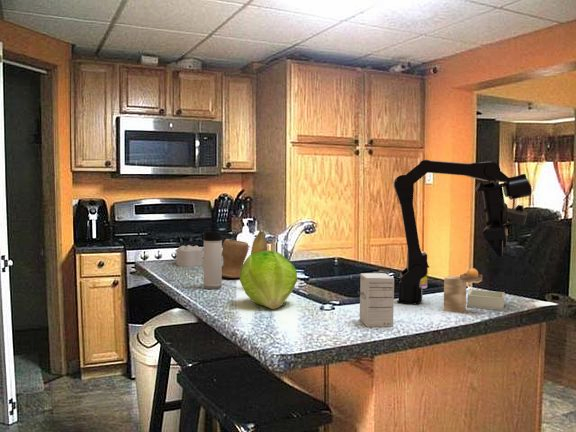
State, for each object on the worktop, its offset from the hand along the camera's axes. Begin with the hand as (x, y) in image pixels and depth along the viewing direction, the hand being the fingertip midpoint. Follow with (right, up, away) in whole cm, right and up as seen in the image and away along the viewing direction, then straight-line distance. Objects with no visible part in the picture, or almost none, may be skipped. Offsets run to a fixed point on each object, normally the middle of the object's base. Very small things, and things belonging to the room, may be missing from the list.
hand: (502, 251), depth 161 cm
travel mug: (-92, -14, +23) cm, 96 cm away
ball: (-13, -5, -11) cm, 18 cm away
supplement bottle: (-19, -15, +27) cm, 36 cm away
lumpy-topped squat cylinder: (-111, -11, +79) cm, 137 cm away
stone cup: (-88, -13, +46) cm, 101 cm away
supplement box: (-43, -17, -24) cm, 52 cm away
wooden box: (-15, -17, -9) cm, 24 cm away
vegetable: (-76, -15, +22) cm, 80 cm away
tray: (-5, -16, -1) cm, 17 cm away
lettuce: (-72, -16, -3) cm, 73 cm away
